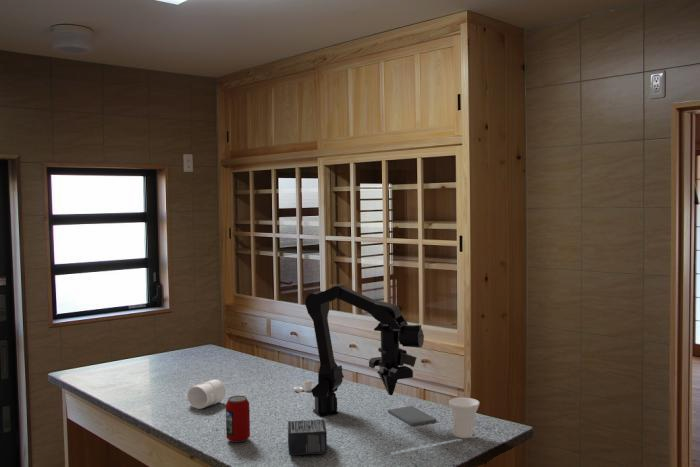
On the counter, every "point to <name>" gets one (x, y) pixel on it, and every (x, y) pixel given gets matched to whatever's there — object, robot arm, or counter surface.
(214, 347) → the counter surface
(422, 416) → the mat
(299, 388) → the teacup and saucer
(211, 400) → the white cylinder
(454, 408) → the cup
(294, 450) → the small box
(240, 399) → the beverage can
